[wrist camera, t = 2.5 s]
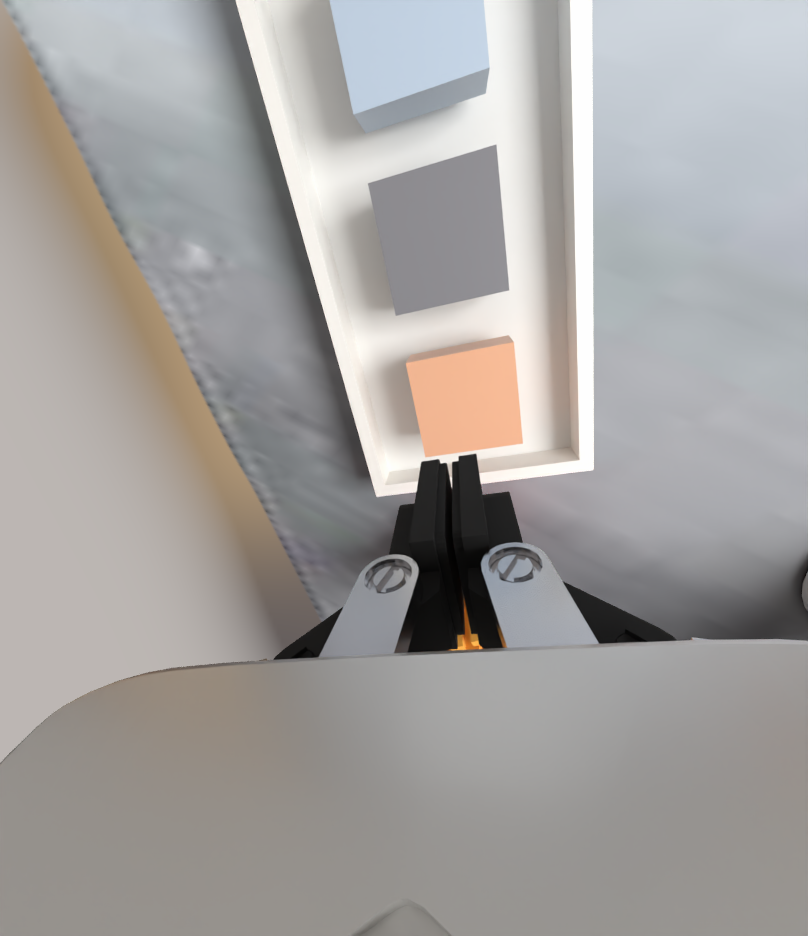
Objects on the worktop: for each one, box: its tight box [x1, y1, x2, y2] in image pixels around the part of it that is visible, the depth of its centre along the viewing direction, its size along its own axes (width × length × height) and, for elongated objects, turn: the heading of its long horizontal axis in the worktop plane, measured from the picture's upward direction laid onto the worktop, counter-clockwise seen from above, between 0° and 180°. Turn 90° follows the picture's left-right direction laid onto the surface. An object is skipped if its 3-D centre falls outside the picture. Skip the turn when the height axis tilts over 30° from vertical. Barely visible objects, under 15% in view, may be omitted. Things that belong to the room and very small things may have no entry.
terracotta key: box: [406, 335, 523, 457], centre depth 22 cm, size 6×6×2 cm
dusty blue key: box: [330, 0, 490, 133], centre depth 15 cm, size 6×6×2 cm
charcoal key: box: [368, 145, 509, 316], centre depth 19 cm, size 6×6×2 cm
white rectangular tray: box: [235, 0, 594, 497], centre depth 20 cm, size 14×28×3 cm, turn 12°
